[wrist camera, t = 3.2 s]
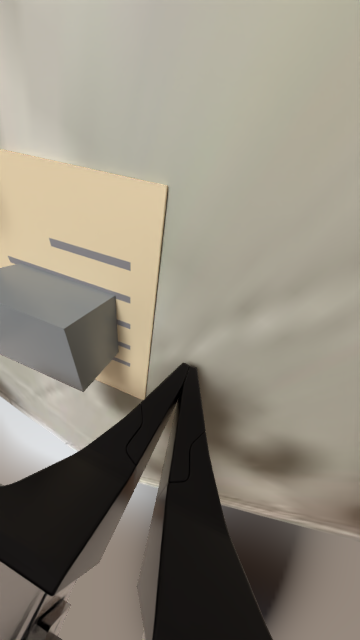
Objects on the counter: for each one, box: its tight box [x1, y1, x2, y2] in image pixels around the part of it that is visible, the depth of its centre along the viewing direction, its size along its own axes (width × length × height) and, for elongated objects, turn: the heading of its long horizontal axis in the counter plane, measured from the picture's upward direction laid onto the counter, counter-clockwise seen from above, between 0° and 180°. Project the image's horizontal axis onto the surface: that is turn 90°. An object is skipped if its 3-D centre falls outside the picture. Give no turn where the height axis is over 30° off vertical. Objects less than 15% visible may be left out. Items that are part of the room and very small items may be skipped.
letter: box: [0, 149, 168, 400], centre depth 12 cm, size 12×16×1 cm
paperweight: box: [0, 263, 119, 392], centre depth 10 cm, size 7×5×4 cm
